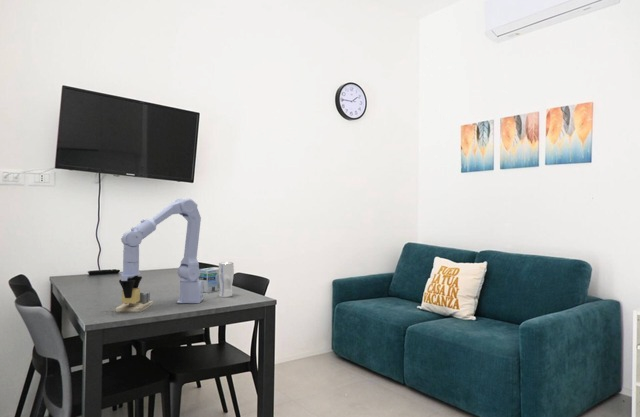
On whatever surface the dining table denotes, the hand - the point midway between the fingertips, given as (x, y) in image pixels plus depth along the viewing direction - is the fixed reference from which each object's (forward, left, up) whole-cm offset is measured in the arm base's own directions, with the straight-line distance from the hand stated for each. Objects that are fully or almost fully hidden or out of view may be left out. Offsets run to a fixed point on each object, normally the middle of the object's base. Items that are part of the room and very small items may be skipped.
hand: (130, 296), depth 172 cm
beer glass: (-33, -27, -5) cm, 43 cm away
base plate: (-1, -3, -5) cm, 6 cm away
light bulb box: (-24, -40, -5) cm, 47 cm away
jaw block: (0, 0, -2) cm, 2 cm away
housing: (0, -7, -4) cm, 7 cm away
